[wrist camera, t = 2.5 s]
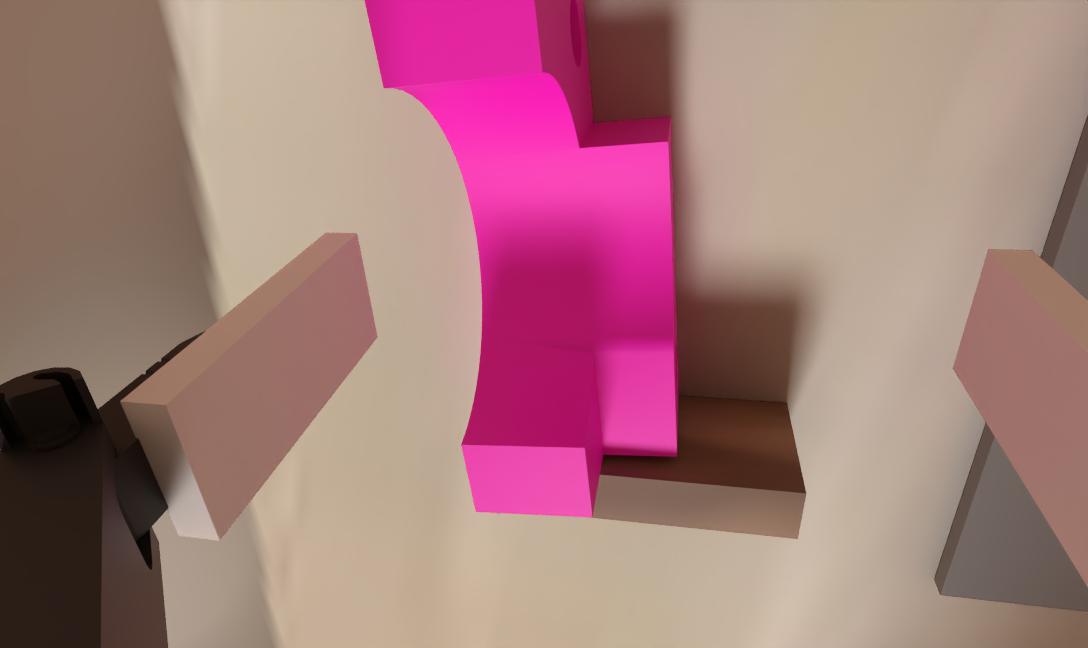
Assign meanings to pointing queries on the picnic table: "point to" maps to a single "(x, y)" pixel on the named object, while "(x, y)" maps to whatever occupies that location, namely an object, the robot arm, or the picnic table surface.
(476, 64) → the toy block
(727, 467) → the block
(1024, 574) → the slate mat
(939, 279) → the picnic table surface
